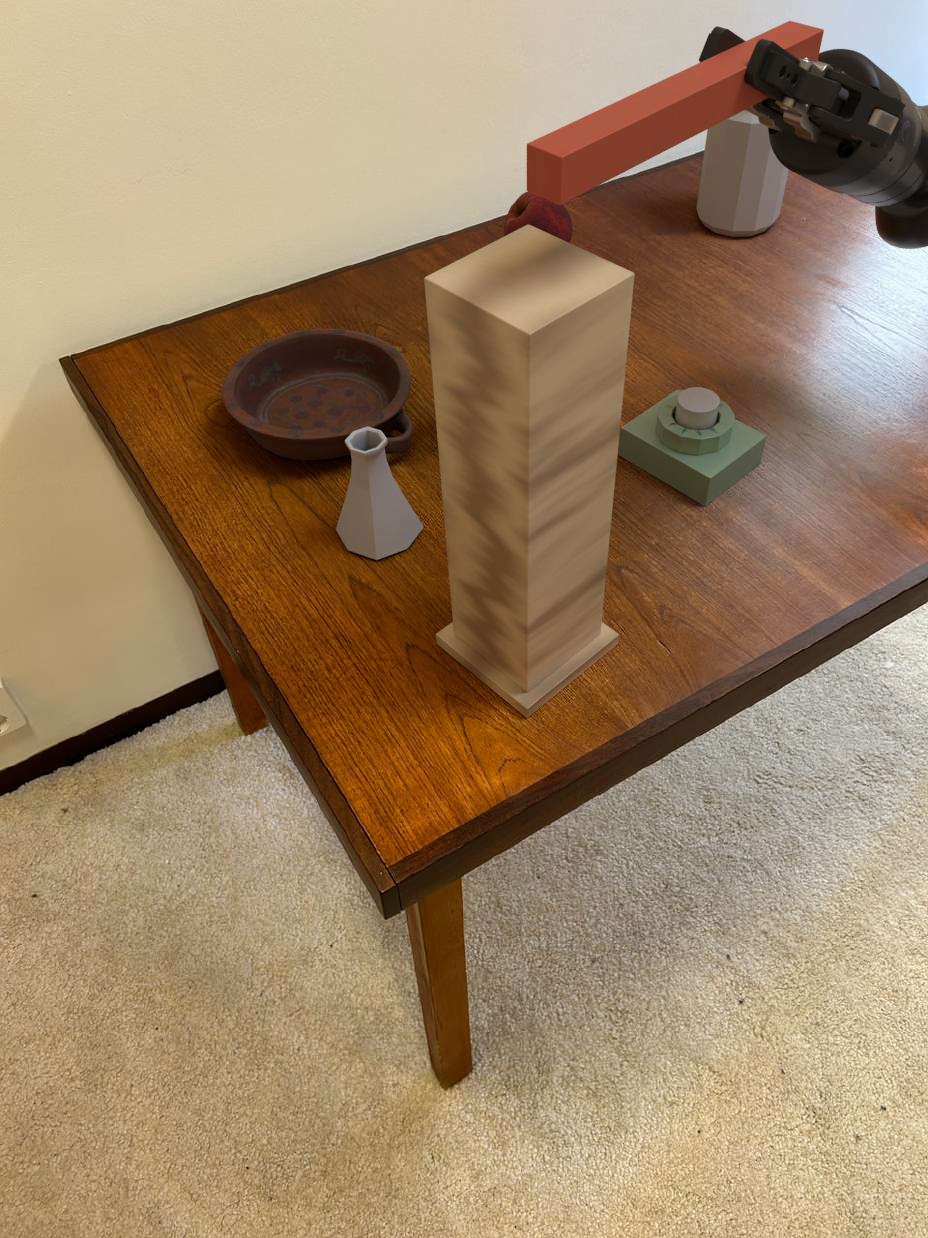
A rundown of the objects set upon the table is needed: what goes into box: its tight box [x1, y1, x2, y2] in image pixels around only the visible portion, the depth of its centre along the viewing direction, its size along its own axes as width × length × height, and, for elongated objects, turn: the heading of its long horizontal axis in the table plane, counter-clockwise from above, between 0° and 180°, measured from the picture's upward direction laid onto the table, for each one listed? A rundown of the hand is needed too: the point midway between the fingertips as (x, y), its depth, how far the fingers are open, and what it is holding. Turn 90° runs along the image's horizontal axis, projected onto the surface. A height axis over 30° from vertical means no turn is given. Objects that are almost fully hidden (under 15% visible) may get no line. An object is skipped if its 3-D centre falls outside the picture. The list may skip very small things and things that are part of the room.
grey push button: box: [675, 386, 721, 430], centre depth 84 cm, size 4×4×2 cm
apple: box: [503, 191, 573, 244], centre depth 110 cm, size 7×8×8 cm
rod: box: [526, 20, 825, 205], centre depth 53 cm, size 2×22×2 cm, turn 133°
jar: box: [696, 110, 790, 238], centre depth 110 cm, size 10×10×18 cm
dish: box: [221, 328, 415, 461], centre depth 93 cm, size 18×22×5 cm
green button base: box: [617, 389, 768, 507], centre depth 86 cm, size 10×8×5 cm
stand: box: [423, 225, 636, 719], centre depth 63 cm, size 10×10×31 cm
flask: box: [335, 427, 424, 561], centre depth 80 cm, size 7×7×10 cm
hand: (733, 53), depth 53 cm, fingers closed on rod, 2 cm apart
